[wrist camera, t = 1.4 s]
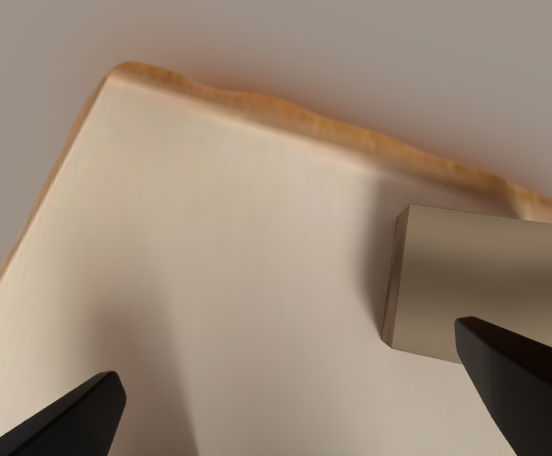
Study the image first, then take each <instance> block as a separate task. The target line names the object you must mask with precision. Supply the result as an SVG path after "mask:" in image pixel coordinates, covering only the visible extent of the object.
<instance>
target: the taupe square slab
mask: <svg viewBox="0 0 552 456" xmlns="http://www.w3.org/2000/svg"><path fill="white" fill-rule="evenodd" d="M467 316H474V317H477V318H480V319H482V320H485V321H487V322H490V323H492V324H495V325H497V326H500V327H502V328H505V329H507V330H510V331H512V332H515V333H518V334H520V335H523V336H525V337H528V338H530V339H533V340H535V341H538V342H540V343H543V344H545V345H548V346H550V347H552V224H549V223H542V222H535V221H528V220H521V219H514V218H507V217H499V216H492V215H485V214H478V213H471V212H464V211H457V210H450V209H442V208H435V207H428V206H421V205H414V204H409V205H408V207H407V208H406V209H405V210H404V211H403V212H402V213H401V214H400V215H399V216H398V217H397V223H396V230H395V238H394V245H393V253H392V260H391V268H390V275H389V283H388V291H387V298H386V306H385V313H384V321H383V328H382V336H381V340H382V341H383V342H384V343H386V344H387V345H388V346H389V347H390V348H392V349H396V350H400V351H405V352H409V353H414V354H418V355H423V356H427V357H432V358H436V359H441V360H445V361H450V362H454V363H459V364H462V362H461V360H460V358H459V356H458V353H457V350H456V342H455V329H454V322H455V320H456V319H457V318H461V317H467Z"/></svg>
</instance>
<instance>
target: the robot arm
mask: <svg viewBox="0 0 552 456" xmlns="http://www.w3.org/2000/svg"><path fill="white" fill-rule="evenodd" d="M454 329H455V342H456V350H457V353H458V356H459V358H460V360H461V362H462V364H463V365H464V367H465V369H466V371H467V373H468V375H469V377H470V378H471V380H472V382H473V384H474V386H475V388H476V390H477V391H478V393H479V395H480V397H481V399H482V401H483V403H484V404H485V406H486V408H487V410H488V412H489V413H490V415H491V417H492V419H493V420H494V422H495V423H496V425H497V426H498V428H499V430H500V431H501V432H502V434H503V435H504V437H505V438H506V440H507V441H508V443H509V444H510V446H511V447H512V449H513V450H514V452H515V453H516V455H517V456H552V347H550V346H548V345H545V344H543V343H540V342H538V341H535V340H533V339H530V338H528V337H525V336H523V335H520V334H518V333H515V332H512V331H510V330H507V329H505V328H502V327H500V326H497V325H495V324H492V323H490V322H487V321H485V320H482V319H480V318H477V317H474V316H467V317H461V318H457V319H456V320H455V322H454ZM125 405H126V393H125V390H124V388H123V385H122V383H121V381H120V378H119V376H118V374H117V373H116V372H115V371H107V372H101V373H98V374H96V375H95V376H93V377H92V378H90V379H89V380H87V381H86V382H84V383H83V384H81V385H80V386H78V387H76V388H75V389H73V390H72V391H70V392H69V393H67V394H66V395H64V396H63V397H61V398H60V399H58V400H56V401H55V402H53V403H52V404H50V405H49V406H47V407H46V408H44V409H43V410H41V411H40V412H38V413H36V414H35V415H33V416H32V417H30V418H29V419H27V420H26V421H24V422H23V423H21V424H20V425H18V426H16V427H15V428H13V429H12V430H10V431H9V432H7V433H6V434H4V435H3V436H1V437H0V456H107V455H108V453H109V450H110V447H111V444H112V441H113V439H114V436H115V433H116V430H117V427H118V425H119V422H120V419H121V416H122V413H123V410H124V408H125Z"/></svg>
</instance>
